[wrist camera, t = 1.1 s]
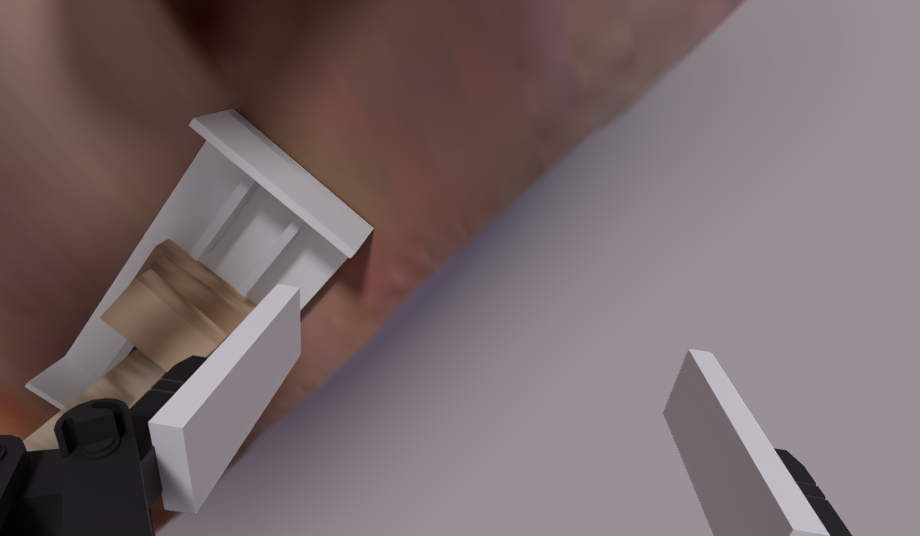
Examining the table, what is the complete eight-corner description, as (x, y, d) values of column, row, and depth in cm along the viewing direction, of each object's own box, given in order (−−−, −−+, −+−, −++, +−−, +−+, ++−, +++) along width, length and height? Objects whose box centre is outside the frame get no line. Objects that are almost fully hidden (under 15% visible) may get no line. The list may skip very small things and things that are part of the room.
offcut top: (115, 307, 47) (99, 317, 45) (151, 268, 45) (135, 278, 43) (190, 368, 49) (178, 381, 47) (228, 335, 47) (216, 346, 45)
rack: (71, 353, 57) (24, 386, 51) (233, 108, 43) (193, 117, 38) (189, 433, 60) (157, 471, 55) (373, 228, 47) (355, 252, 41)
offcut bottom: (133, 290, 51) (119, 299, 49) (169, 238, 48) (155, 246, 46) (230, 360, 53) (220, 371, 52) (270, 315, 51) (260, 325, 49)
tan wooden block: (117, 385, 56) (-31, 513, 41) (156, 332, 53) (10, 451, 37) (143, 403, 57) (8, 535, 42) (184, 352, 54) (52, 476, 38)
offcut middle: (134, 307, 49) (120, 317, 47) (163, 256, 47) (149, 264, 45) (229, 368, 51) (219, 380, 50) (263, 323, 49) (253, 333, 47)
